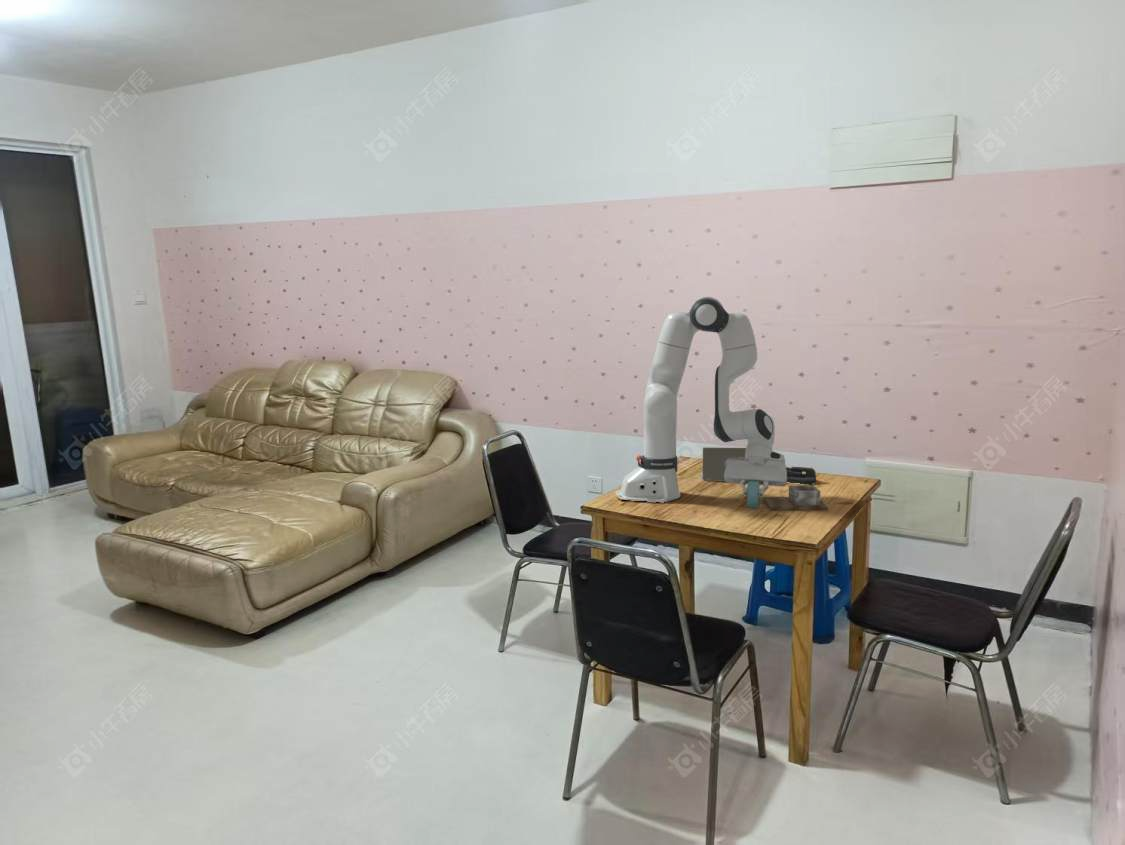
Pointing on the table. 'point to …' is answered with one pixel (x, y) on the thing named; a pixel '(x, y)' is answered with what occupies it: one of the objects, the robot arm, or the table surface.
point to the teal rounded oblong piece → (753, 494)
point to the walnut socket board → (797, 499)
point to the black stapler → (801, 475)
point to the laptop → (718, 462)
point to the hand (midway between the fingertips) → (752, 494)
